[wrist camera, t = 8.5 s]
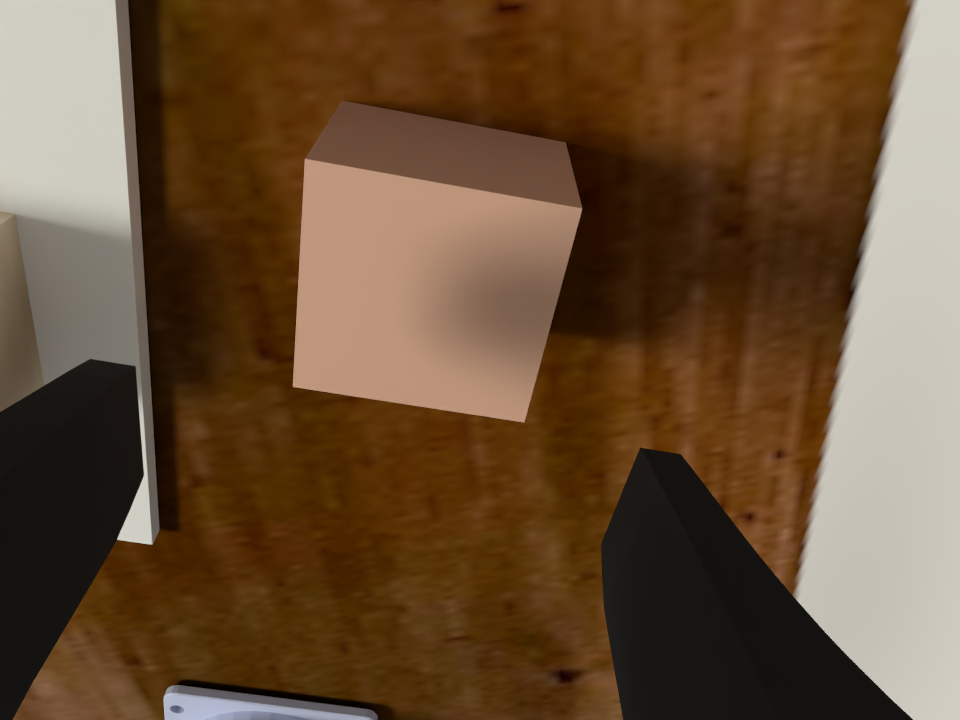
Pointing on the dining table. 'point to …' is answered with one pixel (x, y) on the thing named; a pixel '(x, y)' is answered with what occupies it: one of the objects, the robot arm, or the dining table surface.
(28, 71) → the mat
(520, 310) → the terracotta brick
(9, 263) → the ash brick
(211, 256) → the dining table surface
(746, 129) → the dining table surface
